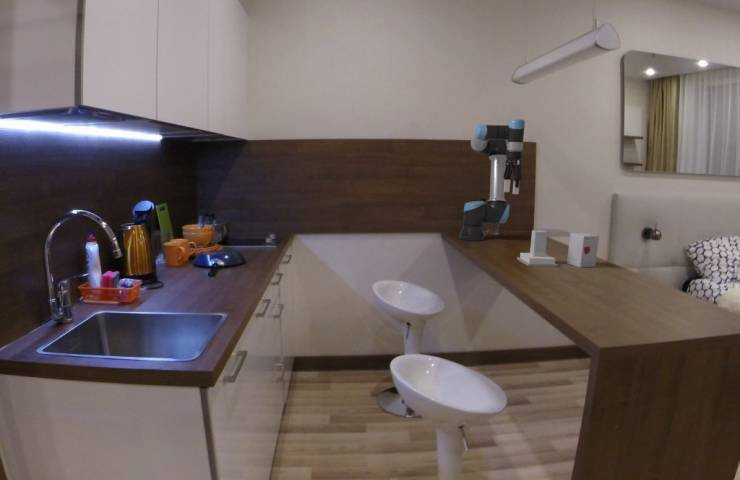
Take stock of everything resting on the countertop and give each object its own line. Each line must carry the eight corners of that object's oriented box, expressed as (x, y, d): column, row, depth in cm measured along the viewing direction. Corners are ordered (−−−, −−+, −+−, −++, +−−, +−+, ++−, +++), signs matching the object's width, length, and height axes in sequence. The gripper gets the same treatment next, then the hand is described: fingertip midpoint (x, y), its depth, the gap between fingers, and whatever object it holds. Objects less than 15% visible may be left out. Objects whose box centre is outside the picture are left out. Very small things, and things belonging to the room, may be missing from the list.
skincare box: (541, 254, 205) (544, 230, 203) (545, 256, 201) (548, 231, 199) (529, 254, 205) (531, 229, 203) (533, 256, 201) (535, 231, 198)
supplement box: (579, 267, 196) (583, 236, 193) (566, 263, 204) (569, 232, 201) (595, 267, 198) (599, 235, 195) (581, 262, 207) (585, 232, 204)
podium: (517, 259, 210) (517, 252, 210) (544, 259, 211) (545, 252, 210) (527, 266, 197) (528, 258, 196) (557, 266, 197) (558, 259, 196)
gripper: (499, 151, 226) (496, 191, 230) (515, 150, 202) (512, 194, 206) (513, 151, 227) (509, 191, 231) (531, 150, 202) (527, 195, 206)
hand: (510, 193), depth 218 cm, fingers open, 13 cm apart
